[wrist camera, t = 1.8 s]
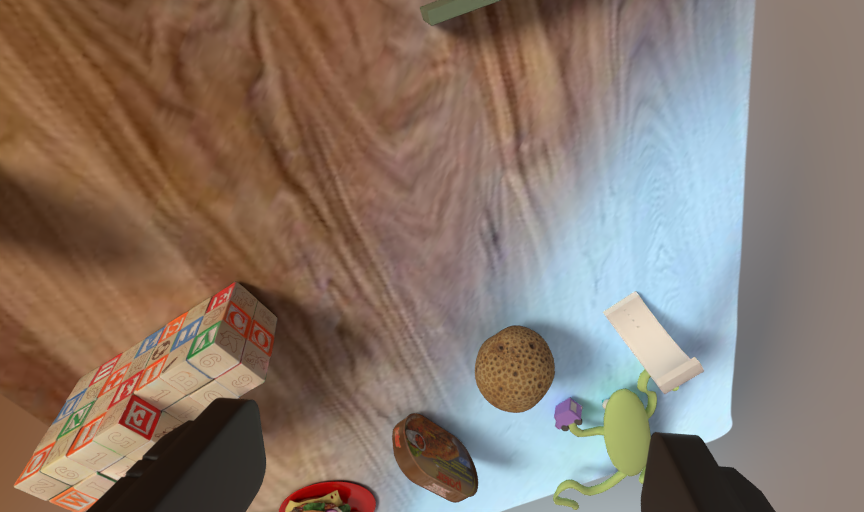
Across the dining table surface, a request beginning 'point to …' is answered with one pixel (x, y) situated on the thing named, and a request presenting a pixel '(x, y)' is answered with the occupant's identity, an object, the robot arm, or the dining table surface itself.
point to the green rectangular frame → (450, 9)
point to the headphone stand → (652, 343)
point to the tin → (434, 458)
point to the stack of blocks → (150, 396)
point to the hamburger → (330, 499)
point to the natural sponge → (514, 369)
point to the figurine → (613, 435)
